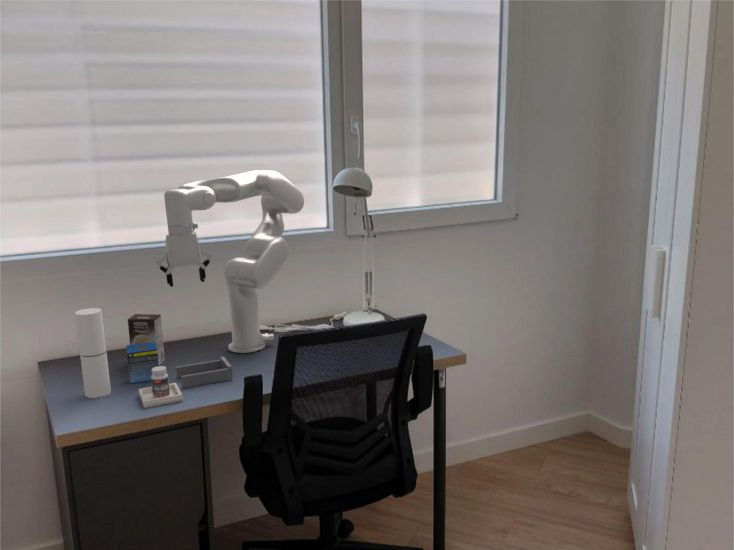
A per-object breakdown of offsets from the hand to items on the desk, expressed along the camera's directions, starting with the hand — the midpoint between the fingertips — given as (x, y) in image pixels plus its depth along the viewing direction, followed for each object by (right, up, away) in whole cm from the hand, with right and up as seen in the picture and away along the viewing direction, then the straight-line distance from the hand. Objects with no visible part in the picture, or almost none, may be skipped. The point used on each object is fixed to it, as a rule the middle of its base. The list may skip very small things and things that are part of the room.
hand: (186, 283), depth 223 cm
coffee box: (-15, -27, +11) cm, 32 cm away
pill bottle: (-2, -32, -19) cm, 38 cm away
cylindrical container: (-22, -32, -14) cm, 42 cm away
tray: (-3, -33, -19) cm, 38 cm away
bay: (+7, -29, -5) cm, 30 cm away
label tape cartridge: (-12, -30, -4) cm, 32 cm away
